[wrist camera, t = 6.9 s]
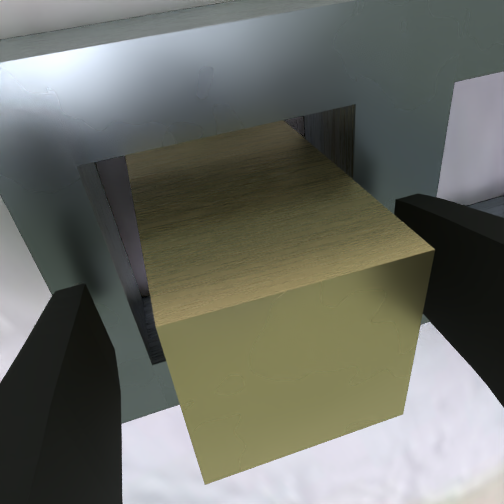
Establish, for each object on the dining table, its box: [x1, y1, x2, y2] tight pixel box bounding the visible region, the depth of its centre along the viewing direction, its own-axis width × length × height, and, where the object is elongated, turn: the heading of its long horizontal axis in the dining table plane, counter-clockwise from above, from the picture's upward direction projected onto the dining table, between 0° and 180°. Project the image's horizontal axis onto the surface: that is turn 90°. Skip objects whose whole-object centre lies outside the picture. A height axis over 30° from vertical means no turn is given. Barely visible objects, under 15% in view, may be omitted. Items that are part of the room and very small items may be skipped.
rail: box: [0, 0, 504, 424], centre depth 13 cm, size 18×10×3 cm, turn 96°
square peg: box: [125, 120, 435, 485], centre depth 11 cm, size 4×4×7 cm
